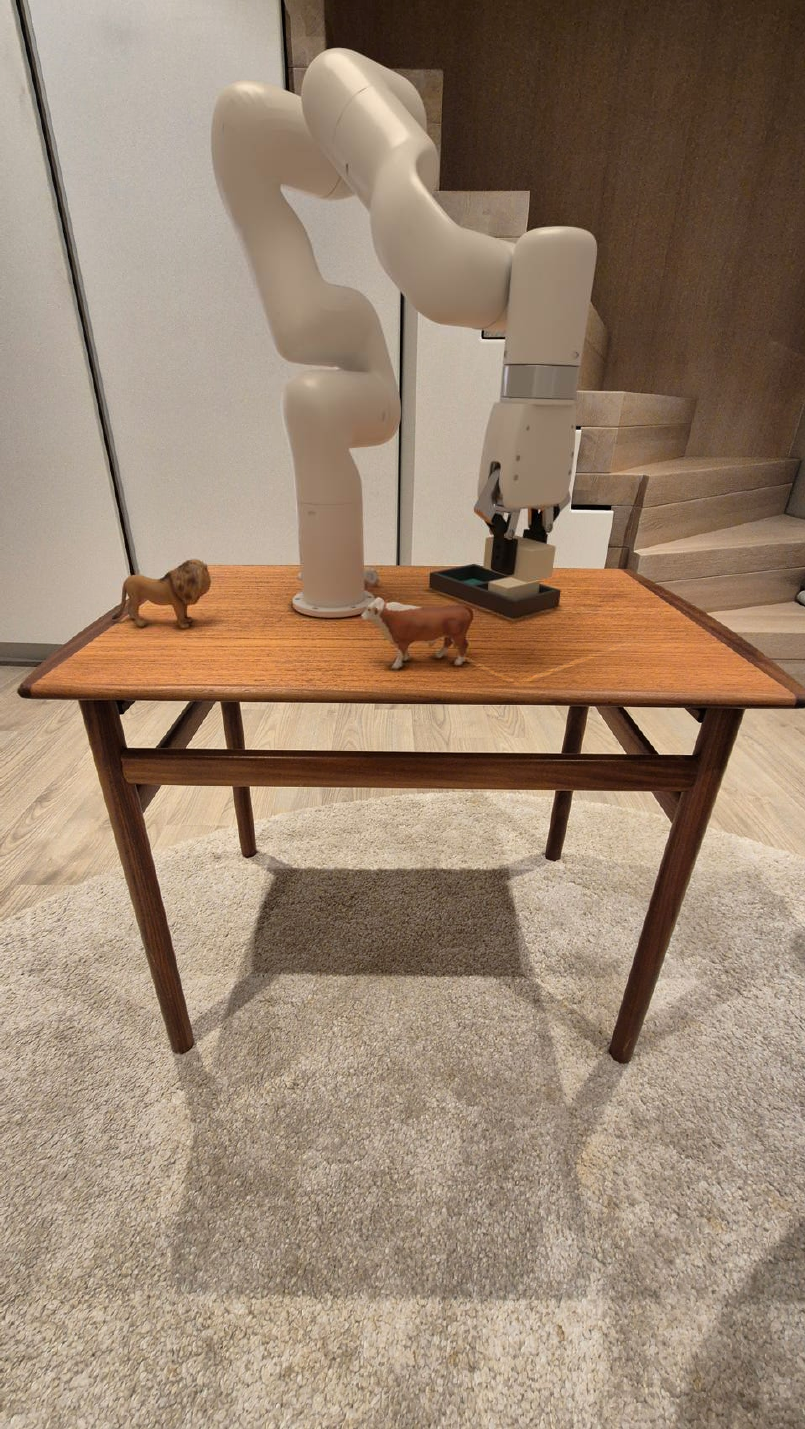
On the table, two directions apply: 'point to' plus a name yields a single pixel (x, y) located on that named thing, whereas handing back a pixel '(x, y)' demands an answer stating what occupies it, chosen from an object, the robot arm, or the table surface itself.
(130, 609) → the lion figurine
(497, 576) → the dark shallow tray
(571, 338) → the robot arm
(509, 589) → the beige block
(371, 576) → the grey round piece
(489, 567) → the tan rectangular block
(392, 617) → the bull figurine
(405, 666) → the table surface
